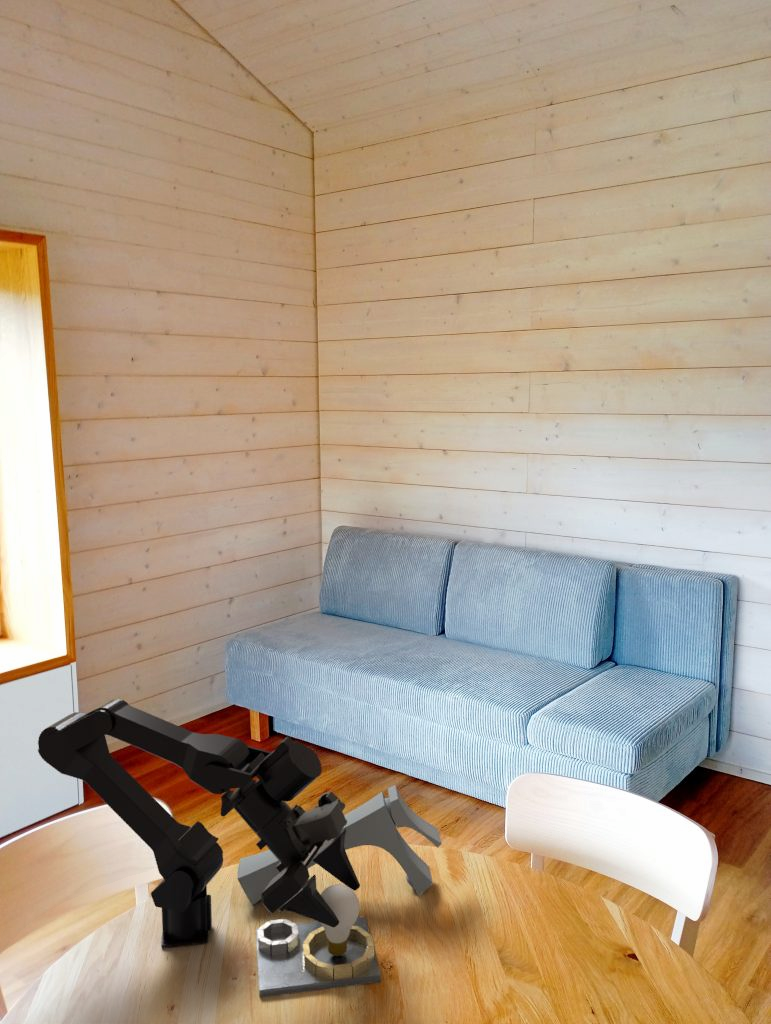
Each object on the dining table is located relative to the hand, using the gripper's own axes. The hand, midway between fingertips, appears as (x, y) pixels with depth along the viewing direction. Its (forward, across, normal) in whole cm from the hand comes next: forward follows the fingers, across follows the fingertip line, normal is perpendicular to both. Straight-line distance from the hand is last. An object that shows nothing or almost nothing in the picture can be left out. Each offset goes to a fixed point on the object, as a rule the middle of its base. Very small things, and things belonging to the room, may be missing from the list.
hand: (347, 906), depth 116 cm
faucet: (+2, +16, +11) cm, 20 cm away
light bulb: (+4, 0, +7) cm, 8 cm away
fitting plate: (+3, 0, +9) cm, 10 cm away
